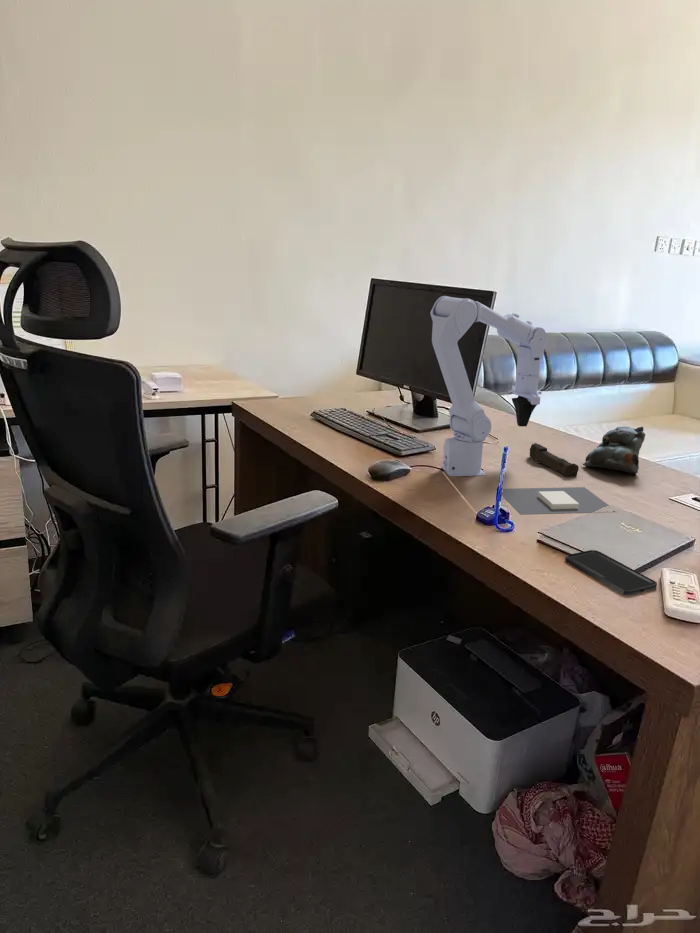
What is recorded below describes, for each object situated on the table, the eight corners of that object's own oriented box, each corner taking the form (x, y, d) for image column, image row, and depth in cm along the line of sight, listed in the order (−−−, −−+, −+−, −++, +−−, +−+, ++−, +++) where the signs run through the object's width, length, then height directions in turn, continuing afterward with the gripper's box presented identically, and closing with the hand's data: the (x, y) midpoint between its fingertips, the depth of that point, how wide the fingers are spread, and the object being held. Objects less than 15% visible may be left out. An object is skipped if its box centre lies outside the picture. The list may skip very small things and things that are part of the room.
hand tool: (578, 478, 170) (580, 461, 168) (564, 479, 169) (566, 462, 167) (538, 457, 187) (540, 441, 186) (525, 458, 186) (527, 441, 185)
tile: (537, 496, 155) (552, 509, 147) (538, 491, 154) (552, 504, 147) (562, 496, 155) (578, 509, 148) (563, 491, 155) (579, 503, 147)
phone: (594, 549, 127) (660, 583, 114) (594, 554, 127) (659, 589, 115) (562, 556, 124) (625, 592, 111) (561, 561, 124) (624, 598, 111)
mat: (520, 516, 144) (520, 514, 144) (495, 490, 159) (495, 488, 159) (617, 513, 147) (617, 511, 147) (584, 488, 162) (584, 487, 162)
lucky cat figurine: (572, 464, 180) (588, 415, 181) (608, 479, 183) (623, 432, 185) (610, 465, 166) (627, 412, 167) (648, 481, 169) (664, 429, 170)
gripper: (554, 379, 166) (547, 432, 170) (531, 369, 180) (526, 418, 184) (526, 379, 165) (521, 433, 169) (506, 369, 179) (501, 419, 183)
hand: (522, 425), depth 176 cm, fingers closed
